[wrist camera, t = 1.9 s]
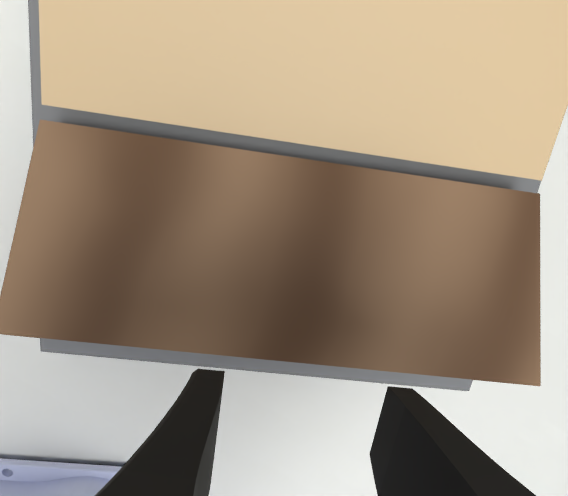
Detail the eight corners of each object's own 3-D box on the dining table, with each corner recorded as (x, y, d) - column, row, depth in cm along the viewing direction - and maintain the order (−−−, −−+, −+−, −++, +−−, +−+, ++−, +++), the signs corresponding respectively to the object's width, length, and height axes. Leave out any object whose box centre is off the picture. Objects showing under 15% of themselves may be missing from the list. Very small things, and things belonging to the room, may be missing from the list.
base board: (51, 339, 19) (23, 370, 17) (38, -139, 14) (-5, -188, 11) (459, 378, 21) (483, 410, 19) (592, -23, 16) (648, -45, 13)
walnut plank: (15, 331, 14) (-8, 333, 13) (57, 137, 15) (39, 119, 14) (513, 380, 16) (540, 386, 14) (514, 203, 17) (540, 193, 16)
